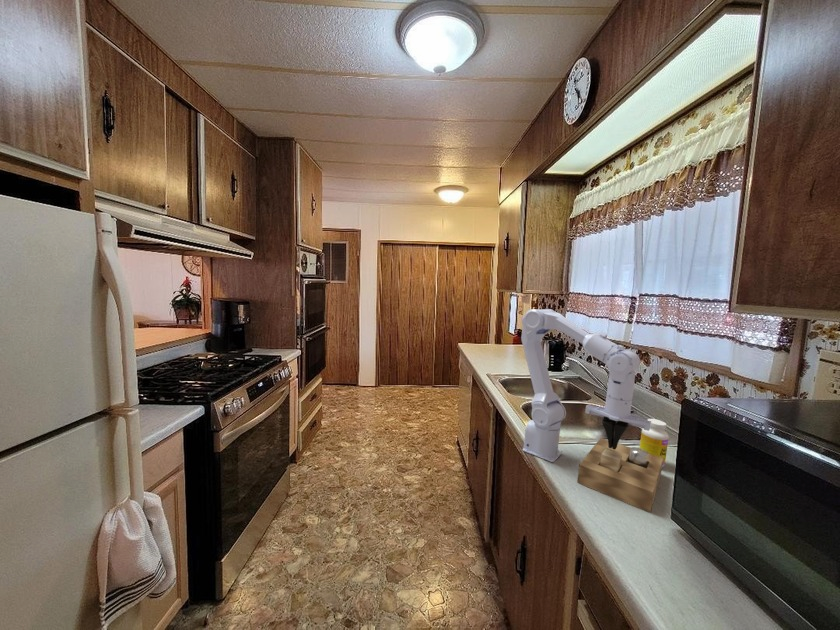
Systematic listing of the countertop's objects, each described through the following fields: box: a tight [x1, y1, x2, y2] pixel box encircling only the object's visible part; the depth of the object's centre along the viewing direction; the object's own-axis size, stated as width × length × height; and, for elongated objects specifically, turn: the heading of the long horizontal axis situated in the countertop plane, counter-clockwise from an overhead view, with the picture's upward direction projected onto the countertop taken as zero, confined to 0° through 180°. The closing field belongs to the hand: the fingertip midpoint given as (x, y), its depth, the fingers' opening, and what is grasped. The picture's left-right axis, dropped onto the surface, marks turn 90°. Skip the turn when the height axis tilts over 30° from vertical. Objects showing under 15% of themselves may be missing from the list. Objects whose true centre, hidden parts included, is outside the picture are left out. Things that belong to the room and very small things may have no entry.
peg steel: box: [629, 446, 648, 468], centre depth 92 cm, size 4×4×5 cm
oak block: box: [576, 438, 663, 513], centre depth 92 cm, size 16×22×5 cm
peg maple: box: [600, 449, 622, 472], centre depth 89 cm, size 4×4×5 cm
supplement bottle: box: [638, 418, 670, 468], centre depth 101 cm, size 7×7×13 cm
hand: (612, 447), depth 89 cm, fingers closed
